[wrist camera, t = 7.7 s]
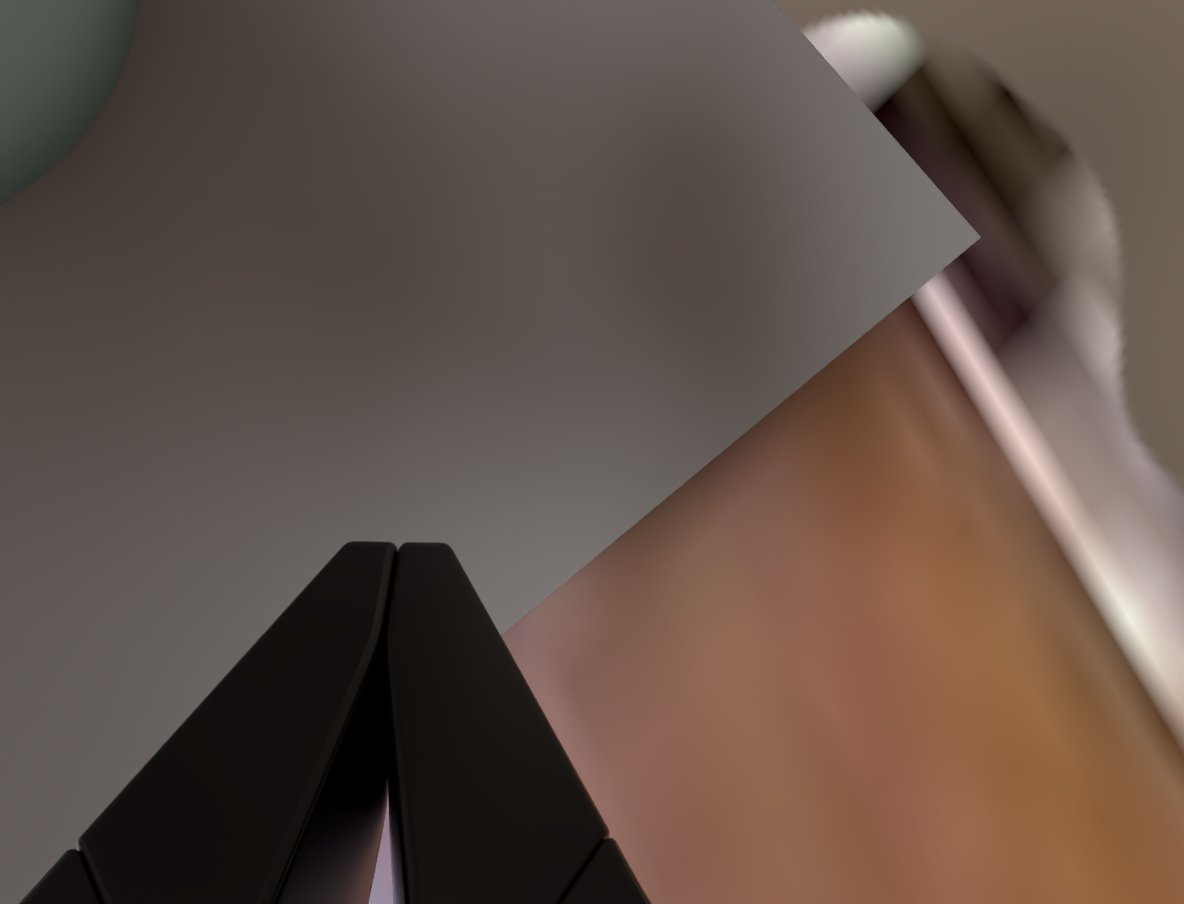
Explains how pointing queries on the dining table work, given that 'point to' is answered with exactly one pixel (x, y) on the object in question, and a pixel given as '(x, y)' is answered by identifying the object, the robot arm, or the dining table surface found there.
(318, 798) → the robot arm
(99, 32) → the teal round piece
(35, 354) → the mat
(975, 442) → the dining table surface
